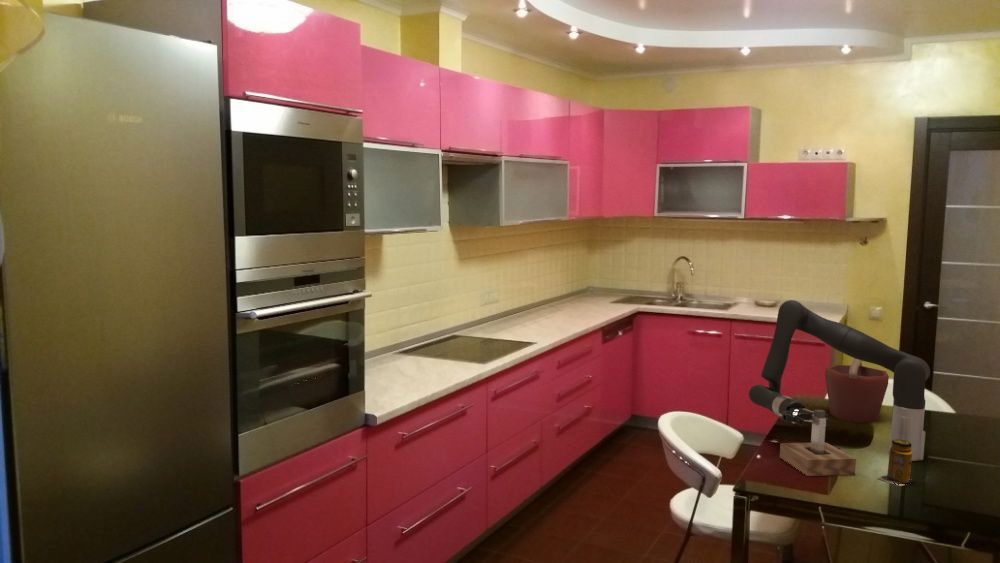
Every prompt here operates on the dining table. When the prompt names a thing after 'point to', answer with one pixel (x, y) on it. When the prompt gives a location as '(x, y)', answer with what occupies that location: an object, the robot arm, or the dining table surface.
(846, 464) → the tongs holder
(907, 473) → the condiment
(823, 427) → the metal bar
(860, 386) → the bucket
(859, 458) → the dining table surface
